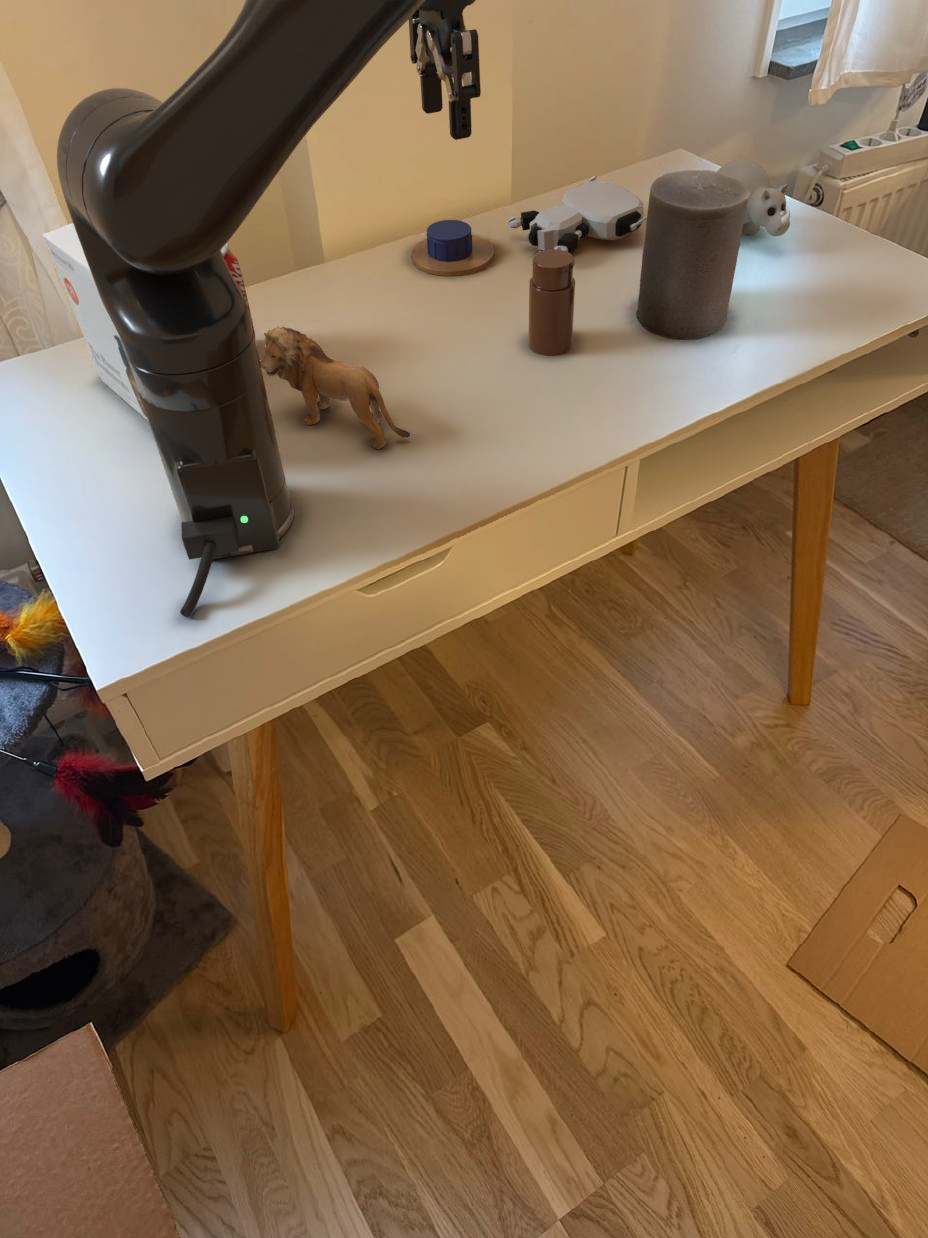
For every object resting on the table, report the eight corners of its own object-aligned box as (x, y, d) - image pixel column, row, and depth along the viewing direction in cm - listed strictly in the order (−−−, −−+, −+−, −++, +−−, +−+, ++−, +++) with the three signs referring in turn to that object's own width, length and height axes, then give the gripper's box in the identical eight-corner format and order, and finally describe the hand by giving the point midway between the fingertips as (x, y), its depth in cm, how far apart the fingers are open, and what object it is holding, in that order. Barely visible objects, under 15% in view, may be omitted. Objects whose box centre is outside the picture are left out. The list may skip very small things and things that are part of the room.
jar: (577, 351, 97) (583, 264, 90) (535, 358, 97) (538, 272, 90) (563, 329, 100) (567, 244, 94) (522, 336, 100) (523, 251, 93)
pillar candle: (631, 335, 99) (646, 192, 88) (641, 291, 106) (656, 152, 95) (724, 344, 97) (751, 198, 86) (729, 298, 104) (755, 157, 93)
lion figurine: (264, 422, 90) (244, 339, 84) (292, 393, 94) (276, 311, 87) (399, 456, 86) (390, 371, 79) (423, 424, 89) (417, 340, 83)
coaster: (502, 269, 110) (502, 264, 110) (420, 280, 109) (419, 276, 109) (483, 233, 117) (483, 228, 116) (405, 243, 116) (404, 238, 115)
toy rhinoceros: (755, 267, 108) (770, 192, 102) (689, 228, 116) (699, 157, 109) (801, 251, 111) (819, 177, 104) (734, 214, 118) (747, 143, 112)
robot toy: (560, 281, 109) (660, 238, 114) (559, 244, 106) (662, 201, 110) (502, 242, 117) (598, 203, 121) (500, 207, 113) (599, 168, 117)
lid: (461, 264, 110) (460, 242, 108) (420, 257, 112) (419, 235, 110) (478, 245, 113) (478, 223, 111) (439, 238, 115) (438, 216, 113)
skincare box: (95, 383, 96) (39, 231, 85) (142, 363, 99) (94, 213, 87) (200, 474, 85) (151, 314, 74) (250, 449, 88) (211, 290, 76)
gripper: (378, -65, 94) (393, 109, 106) (427, -34, 85) (437, 153, 97) (447, -74, 96) (454, 98, 108) (503, -45, 87) (504, 140, 98)
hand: (446, 124), depth 102 cm, fingers open, 8 cm apart
